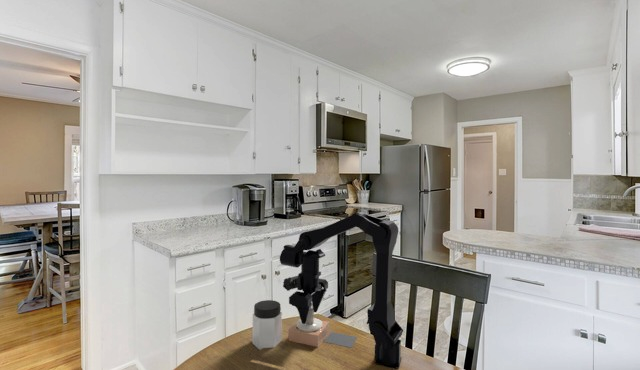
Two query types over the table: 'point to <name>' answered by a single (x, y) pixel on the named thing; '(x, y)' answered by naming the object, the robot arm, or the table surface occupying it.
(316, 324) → the lid
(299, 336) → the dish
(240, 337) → the table surface
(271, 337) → the jar
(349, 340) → the mat
